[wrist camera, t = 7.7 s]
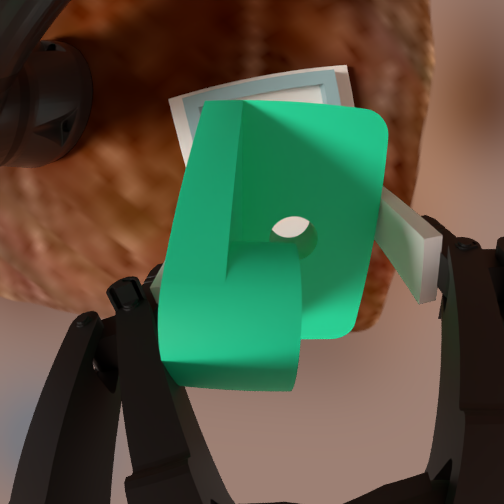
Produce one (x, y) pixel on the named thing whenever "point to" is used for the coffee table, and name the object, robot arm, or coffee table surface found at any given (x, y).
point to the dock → (273, 89)
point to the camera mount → (268, 239)
